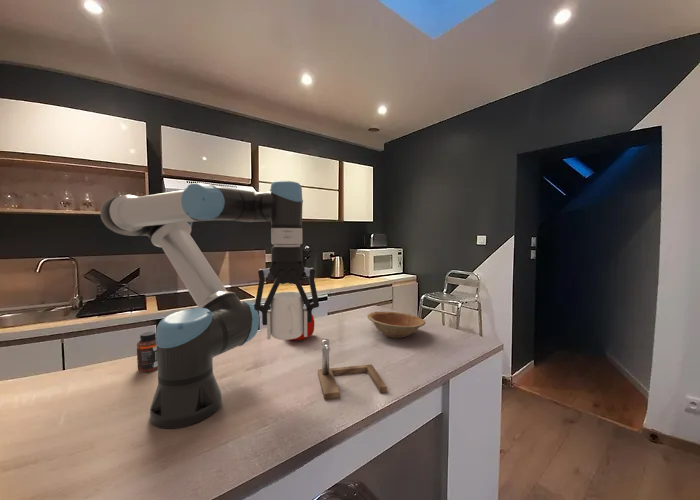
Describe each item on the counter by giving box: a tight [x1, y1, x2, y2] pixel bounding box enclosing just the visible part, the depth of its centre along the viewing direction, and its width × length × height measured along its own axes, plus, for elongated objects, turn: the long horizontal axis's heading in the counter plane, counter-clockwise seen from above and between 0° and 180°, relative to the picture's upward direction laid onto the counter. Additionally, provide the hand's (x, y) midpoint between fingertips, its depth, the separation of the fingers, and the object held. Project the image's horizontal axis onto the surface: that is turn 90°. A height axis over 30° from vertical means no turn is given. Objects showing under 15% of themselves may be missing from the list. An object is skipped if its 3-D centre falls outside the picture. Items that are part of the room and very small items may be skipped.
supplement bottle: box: [136, 331, 158, 373], centre depth 95 cm, size 6×6×11 cm
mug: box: [269, 291, 304, 341], centre depth 76 cm, size 12×8×10 cm
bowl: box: [367, 311, 426, 339], centre depth 127 cm, size 24×24×8 cm
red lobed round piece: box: [289, 314, 315, 342], centre depth 123 cm, size 14×13×10 cm
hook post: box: [321, 338, 331, 375], centre depth 87 cm, size 2×6×10 cm, turn 13°
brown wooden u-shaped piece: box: [317, 363, 388, 400], centre depth 87 cm, size 17×14×2 cm
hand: (287, 336), depth 76 cm, fingers closed on mug, 8 cm apart
